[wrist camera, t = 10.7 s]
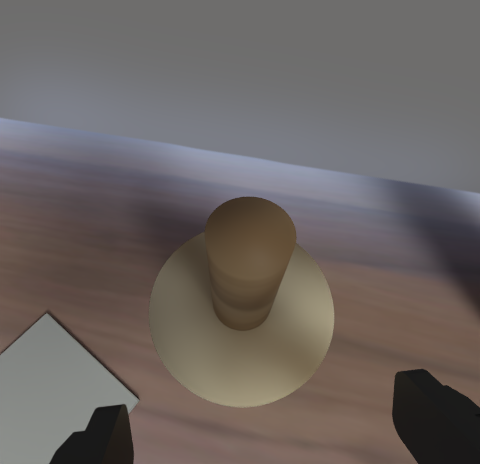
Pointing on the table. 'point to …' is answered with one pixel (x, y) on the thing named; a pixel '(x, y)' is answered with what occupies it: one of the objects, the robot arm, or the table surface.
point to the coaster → (50, 392)
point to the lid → (242, 308)
